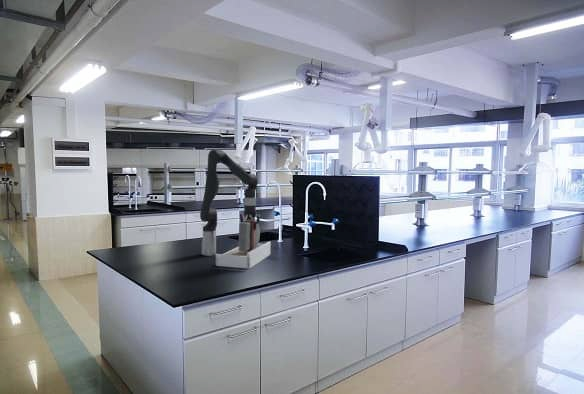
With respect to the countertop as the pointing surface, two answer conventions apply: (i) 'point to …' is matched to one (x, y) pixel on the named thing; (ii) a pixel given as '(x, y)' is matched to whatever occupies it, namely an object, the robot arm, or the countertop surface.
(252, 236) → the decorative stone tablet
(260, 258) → the white open box
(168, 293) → the countertop surface
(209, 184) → the robot arm
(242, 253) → the top offcut
